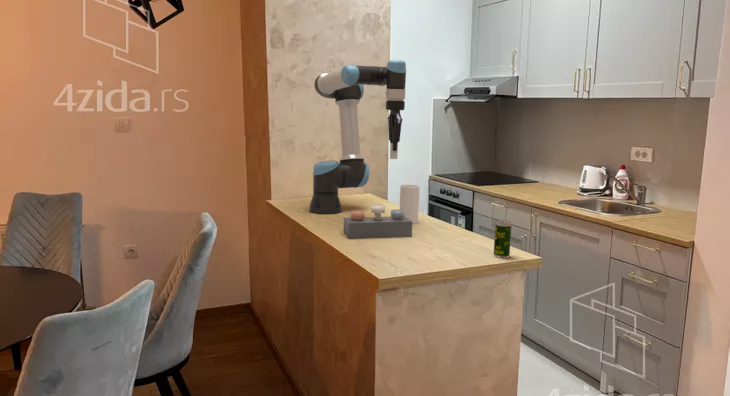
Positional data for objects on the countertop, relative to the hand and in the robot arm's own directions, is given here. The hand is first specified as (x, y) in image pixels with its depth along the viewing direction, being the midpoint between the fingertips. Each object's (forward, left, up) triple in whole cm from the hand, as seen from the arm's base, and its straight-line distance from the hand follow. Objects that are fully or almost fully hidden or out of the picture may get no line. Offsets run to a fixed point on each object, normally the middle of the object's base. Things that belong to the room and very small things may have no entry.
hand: (393, 158), depth 228 cm
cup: (-8, +10, -29) cm, 31 cm away
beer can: (+49, +25, -29) cm, 62 cm away
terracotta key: (+13, -17, -26) cm, 34 cm away
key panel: (+13, -9, -28) cm, 33 cm away
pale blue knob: (+13, -1, -26) cm, 29 cm away
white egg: (+13, -9, -24) cm, 29 cm away
